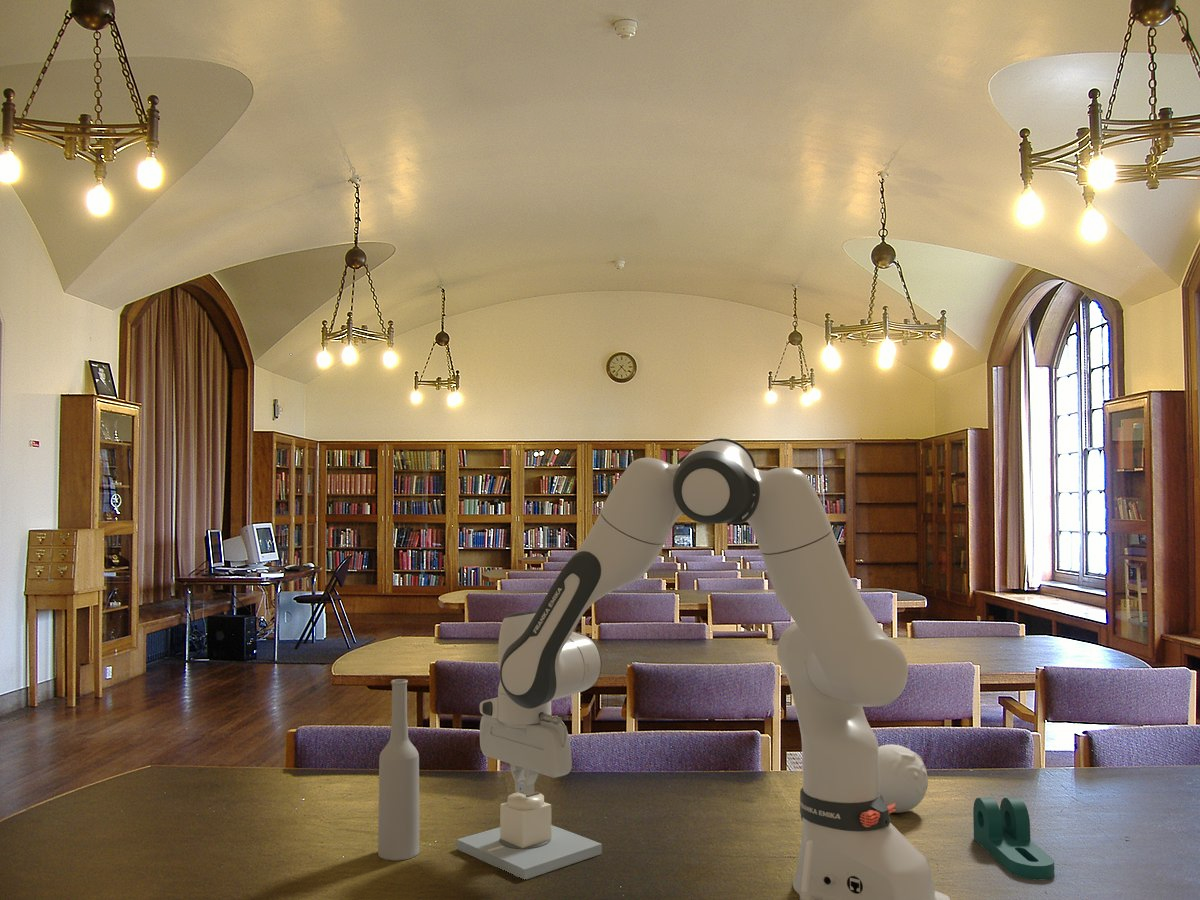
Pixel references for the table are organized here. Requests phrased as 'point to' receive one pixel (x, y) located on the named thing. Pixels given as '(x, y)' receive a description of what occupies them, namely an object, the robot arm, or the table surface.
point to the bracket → (1010, 837)
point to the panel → (530, 852)
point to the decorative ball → (901, 777)
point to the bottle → (398, 786)
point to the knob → (525, 819)
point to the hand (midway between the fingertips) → (524, 793)
